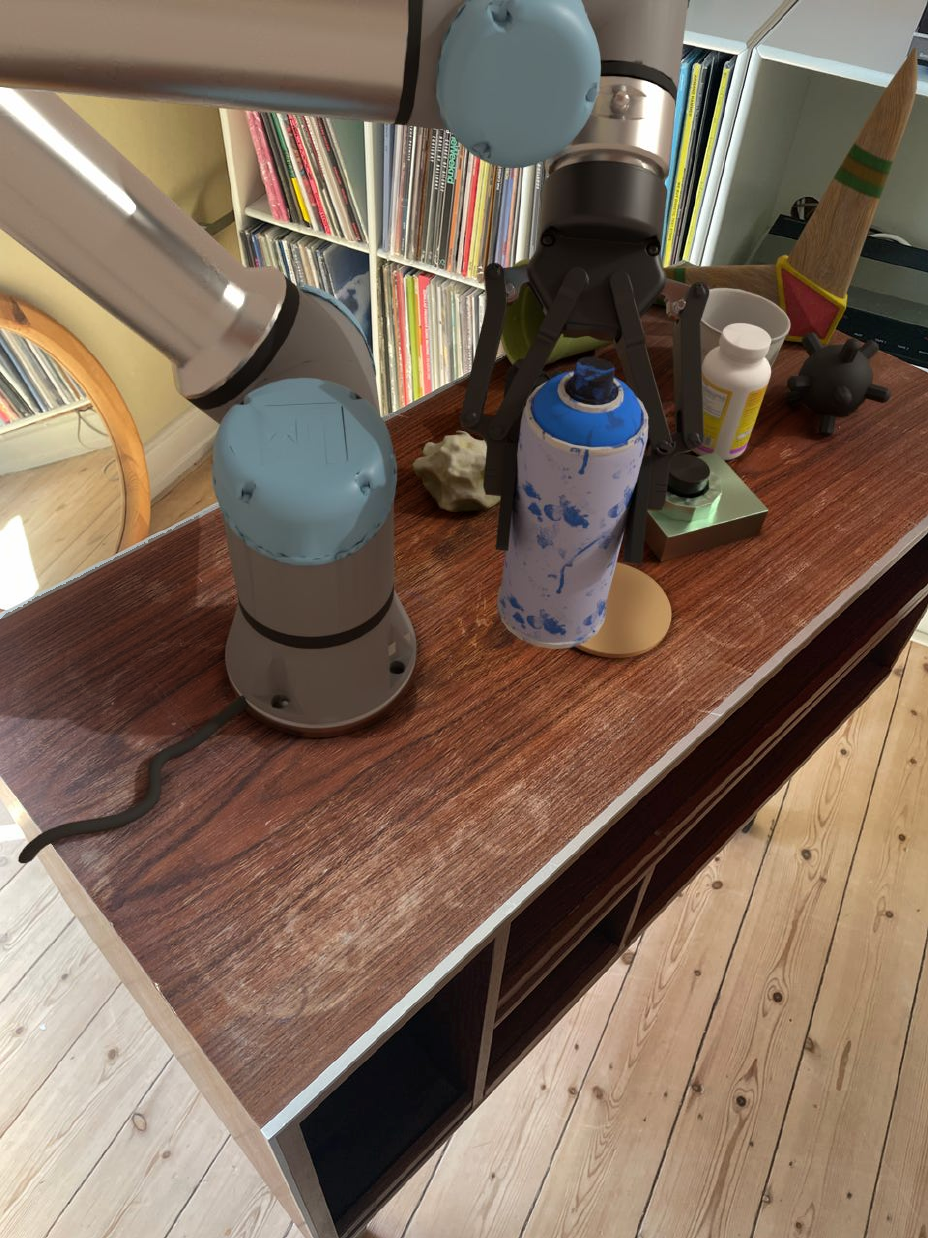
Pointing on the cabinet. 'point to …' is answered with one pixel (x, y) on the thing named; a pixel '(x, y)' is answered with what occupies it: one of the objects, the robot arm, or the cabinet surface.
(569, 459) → the aerosol can
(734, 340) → the supplement bottle
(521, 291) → the plant pot
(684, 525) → the green knob plate
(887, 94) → the wooden v shape
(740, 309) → the teacup
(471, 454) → the fruit
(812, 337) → the toy ball
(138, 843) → the cabinet surface
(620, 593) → the coaster
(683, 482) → the button
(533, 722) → the cabinet surface
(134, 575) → the cabinet surface
